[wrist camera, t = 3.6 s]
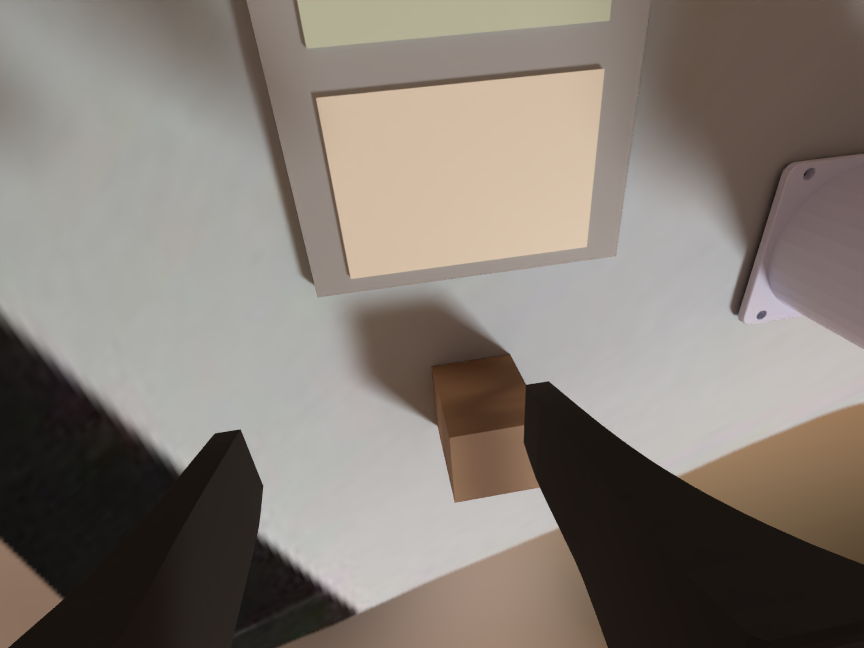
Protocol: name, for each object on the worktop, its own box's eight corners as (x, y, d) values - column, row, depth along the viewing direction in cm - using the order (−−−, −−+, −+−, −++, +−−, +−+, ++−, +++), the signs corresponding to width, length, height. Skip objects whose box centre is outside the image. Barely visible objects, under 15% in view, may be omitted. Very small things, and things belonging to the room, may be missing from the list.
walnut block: (509, 353, 23) (545, 421, 18) (509, 413, 25) (541, 487, 20) (431, 365, 22) (449, 437, 18) (437, 425, 24) (454, 502, 20)
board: (677, -305, 12) (700, -332, 11) (607, 249, 20) (618, 257, 20) (182, -291, 11) (168, -320, 10) (318, 288, 19) (317, 299, 18)
